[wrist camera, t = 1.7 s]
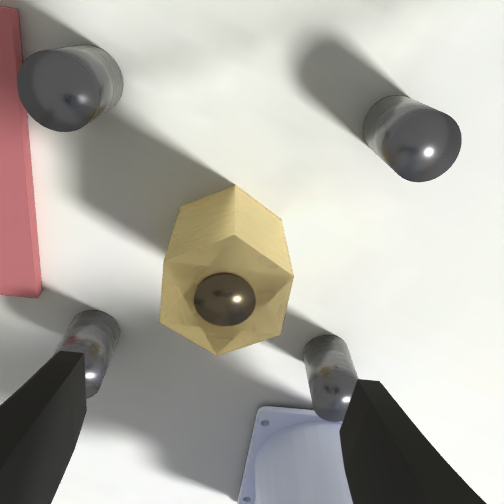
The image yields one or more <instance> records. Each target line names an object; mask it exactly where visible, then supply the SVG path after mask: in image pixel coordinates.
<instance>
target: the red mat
mask: <svg viewBox="0 0 504 504" xmlns="http://www.w3.org/2000/svg"><path fill="white" fill-rule="evenodd" d="M22 64H23V60H22V49H21V37H20V25H19V13H18V9H14V8H8V7H2V6H0V295H9V296H19V297H28V298H38V296H39V295H40V294H41V292H42V283H41V271H40V260H39V248H38V236H37V225H36V213H35V201H34V189H33V178H32V166H31V154H30V142H29V131H28V119H27V111H26V109H25V108H24V106H23V104H22V102H21V100H20V97H19V94H18V89H17V77H18V73H19V70H20V67H21V66H22Z"/></svg>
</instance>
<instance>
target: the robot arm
mask: <svg viewBox="0 0 504 504" xmlns="http://www.w3.org/2000/svg"><path fill="white" fill-rule="evenodd" d="M85 414H86V382H85V353H79V352H69V351H59V352H57V353H56V354H55V355H54V356H53V357H52V358H51V359H50V360H49V361H48V362H47V363H46V364H45V365H44V366H43V367H41V368H40V369H39V370H38V371H37V372H36V373H35V374H34V375H33V376H32V377H31V378H30V379H29V380H28V381H27V382H26V383H25V384H24V385H23V386H22V387H20V388H19V389H18V390H17V391H16V392H15V393H14V394H13V395H12V396H11V397H9V398H8V399H7V400H6V401H5V402H4V403H3V404H2V405H0V504H51V502H52V500H53V498H54V495H55V493H56V491H57V489H58V486H59V484H60V482H61V480H62V477H63V475H64V473H65V470H66V468H67V466H68V463H69V461H70V459H71V456H72V454H73V452H74V449H75V446H76V443H77V440H78V437H79V434H80V430H81V427H82V424H83V420H84V417H85ZM263 420H267V421H263ZM237 504H486V503H485V502H484V501H483V500H482V499H481V498H480V497H479V496H478V495H477V494H476V493H475V492H474V491H473V490H472V489H471V488H470V487H469V486H468V484H467V483H466V482H465V481H464V480H463V479H462V478H461V477H460V476H459V475H458V474H457V473H456V472H455V471H454V469H453V468H452V467H451V466H450V465H449V464H448V463H447V462H446V461H445V460H444V458H443V457H442V456H441V455H440V454H439V453H438V452H437V451H436V449H435V448H434V447H433V446H432V445H431V444H430V442H429V441H428V440H427V439H426V438H425V437H424V435H423V434H422V433H421V432H420V431H419V429H418V428H417V427H416V426H415V425H414V423H413V422H412V421H411V420H410V418H409V417H408V416H407V415H406V413H405V412H404V411H403V410H402V408H401V407H400V406H399V405H398V404H397V402H396V401H395V400H394V399H393V397H392V396H391V395H390V394H389V392H388V391H387V390H386V389H385V387H384V386H383V385H382V384H381V383H380V381H372V380H361V379H357V382H356V385H355V388H354V391H353V394H352V396H351V399H350V402H349V405H348V408H347V411H346V414H345V416H344V419H343V421H342V422H330V421H326V420H323V419H321V418H320V417H319V416H318V415H317V414H316V413H315V411H314V410H306V409H295V408H283V407H272V406H263V407H261V408H259V409H258V411H257V415H256V420H255V424H254V429H253V433H252V438H251V443H250V447H249V452H248V456H247V461H246V465H245V470H244V474H243V479H242V484H241V488H240V493H239V497H238V502H237Z"/></svg>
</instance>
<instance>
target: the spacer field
mask: <svg viewBox="0 0 504 504" xmlns="http://www.w3.org/2000/svg"><path fill="white" fill-rule="evenodd" d="M17 89H18V94H19V97H20V100H21V102H22V104H23V106H24V108H25V109H26V111H27V112H28V113H29V114H30V116H31V117H32V118H33V119H34V120H36V121H37V122H38V123H39V124H41V125H43V126H44V127H46V128H49V129H51V130H54V131H59V132H70V131H75V130H78V129H80V128H82V127H83V126H85V125H86V124H88V123H89V122H91V121H92V120H94V119H95V118H97V117H98V116H100V115H101V114H103V113H105V112H106V111H108V110H109V109H111V108H112V107H113V106H114V105H115V104H116V103H117V102H118V101H119V99H120V97H121V95H122V91H123V77H122V73H121V70H120V68H119V66H118V64H117V63H116V61H115V60H114V59H113V58H112V57H111V56H110V55H109V54H108V53H107V52H105V51H104V50H102V49H100V48H98V47H95V46H91V45H80V46H73V47H65V48H58V49H51V50H44V51H39V52H37V53H34V54H32V55H31V56H29V57H28V58H27V59H26V60H25V61H24V62H23V64H22V66H21V67H20V70H19V73H18V77H17ZM363 134H364V138H365V141H366V143H367V145H368V146H369V147H370V148H371V149H372V150H373V151H374V152H375V153H376V154H377V155H378V156H379V157H380V158H381V159H382V160H383V161H385V162H386V163H387V164H388V165H389V166H390V167H391V168H392V169H393V170H394V171H395V172H396V173H397V174H398V175H399V176H401V177H402V178H404V179H406V180H409V181H412V182H425V181H429V180H432V179H435V178H437V177H439V176H440V175H442V174H443V173H445V172H446V171H447V170H448V169H449V168H450V167H451V166H452V164H453V163H454V162H455V160H456V158H457V156H458V154H459V151H460V148H461V132H460V129H459V126H458V125H457V123H456V122H455V120H454V119H453V118H452V117H450V116H449V115H447V114H445V113H443V112H441V111H438V110H436V109H434V108H431V107H429V106H427V105H425V104H422V103H420V102H418V101H415V100H413V99H411V98H408V97H406V96H402V95H393V96H388V97H385V98H383V99H381V100H380V101H378V102H377V103H376V104H375V105H374V106H373V107H372V108H371V109H370V110H369V112H368V114H367V116H366V118H365V121H364V125H363ZM119 335H120V329H119V326H118V324H117V322H116V321H115V320H114V319H113V318H112V317H111V316H109V315H108V314H106V313H104V312H100V311H94V310H90V311H85V312H82V313H80V314H78V315H77V316H76V317H75V318H74V320H73V321H72V323H71V325H70V327H69V329H68V330H67V332H66V334H65V336H64V338H63V339H62V341H61V343H60V345H59V346H58V348H57V350H56V352H55V354H56V353H57V352H59V351H69V352H79V353H85V382H86V398H89V397H91V396H93V395H94V394H96V393H97V391H98V390H99V388H100V386H101V383H102V380H103V378H104V375H105V372H106V370H107V367H108V365H109V362H110V359H111V357H112V354H113V351H114V349H115V346H116V344H117V341H118V338H119ZM55 354H54V355H55ZM54 355H53V356H54ZM303 357H304V362H305V367H306V372H307V378H308V383H309V388H310V393H311V398H312V403H313V408H314V411H315V413H316V414H317V415H318V416H319V417H320V418H321V419H323V420H326V421H330V422H342V421H343V419H344V416H345V414H346V411H347V408H348V405H349V402H350V399H351V396H352V394H353V391H354V388H355V385H356V382H357V379H358V376H357V373H356V370H355V368H354V365H353V362H352V359H351V356H350V353H349V350H348V347H347V344H346V343H345V342H344V341H343V340H342V339H341V338H339V337H337V336H332V335H324V336H319V337H316V338H314V339H313V340H311V341H310V342H309V343H308V344H307V345H306V347H305V348H304V352H303Z"/></svg>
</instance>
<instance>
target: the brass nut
mask: <svg viewBox="0 0 504 504" xmlns="http://www.w3.org/2000/svg"><path fill="white" fill-rule="evenodd" d="M293 278H294V275H293V270H292V265H291V261H290V256H289V252H288V247H287V243H286V238H285V234H284V229H283V225H282V220H281V218H279V217H278V216H276V215H275V214H274V213H272V212H271V211H270V210H268V209H267V208H266V207H264V206H263V205H262V204H260V203H259V202H258V201H256V200H255V199H254V198H252V197H251V196H250V195H248V194H247V193H246V192H244V191H243V190H242V189H240V188H239V187H238V186H236V185H234V186H232V187H229V188H226V189H224V190H221V191H219V192H216V193H213V194H211V195H208V196H206V197H203V198H201V199H198V200H195V201H193V202H190V203H188V204H185V205H182V206H181V207H180V210H179V214H178V217H177V220H176V223H175V226H174V229H173V233H172V236H171V239H170V242H169V245H168V249H167V252H166V255H165V258H164V263H163V278H162V293H161V309H160V323H161V324H163V325H165V326H166V327H168V328H170V329H171V330H173V331H175V332H177V333H178V334H180V335H182V336H184V337H185V338H187V339H189V340H190V341H192V342H194V343H196V344H197V345H199V346H201V347H202V348H204V349H206V350H208V351H209V352H211V353H213V354H215V355H216V356H218V355H221V354H224V353H227V352H230V351H233V350H236V349H239V348H242V347H245V346H249V345H252V344H255V343H258V342H261V341H264V340H267V339H270V338H273V337H276V336H279V335H281V330H282V326H283V322H284V317H285V313H286V308H287V304H288V300H289V295H290V291H291V286H292V282H293Z"/></svg>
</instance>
